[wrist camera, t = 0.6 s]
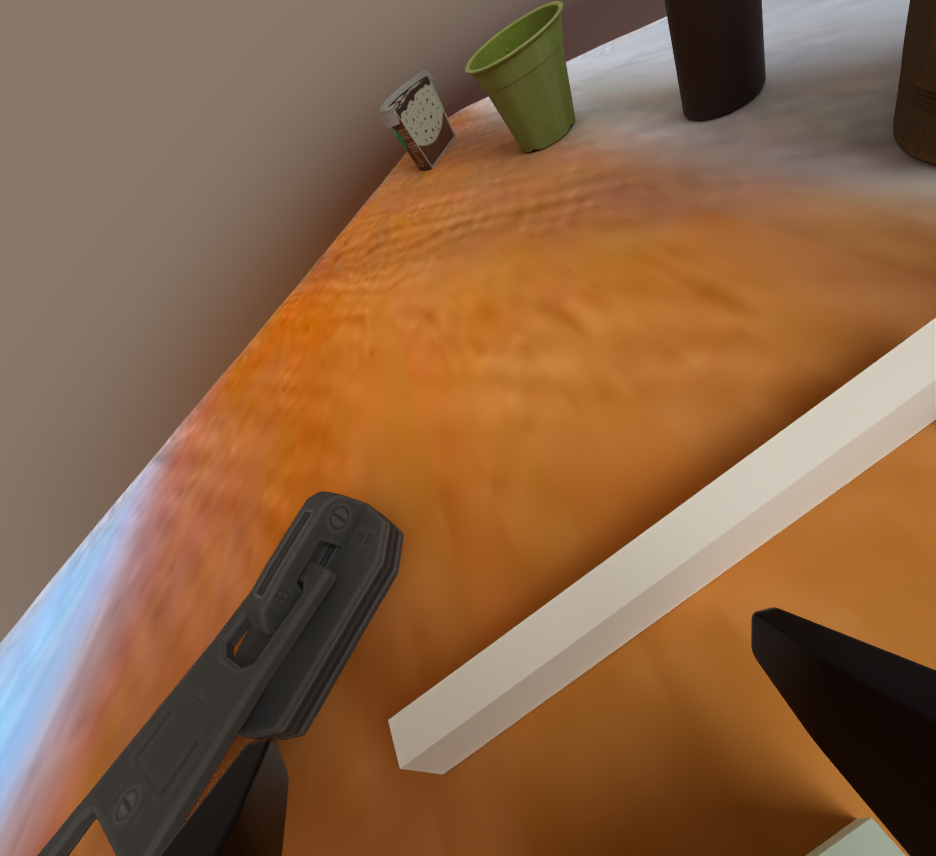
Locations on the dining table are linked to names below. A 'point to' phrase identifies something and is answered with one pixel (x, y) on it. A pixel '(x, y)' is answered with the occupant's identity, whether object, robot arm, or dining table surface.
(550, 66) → the plant pot
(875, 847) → the cabinet block
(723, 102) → the bottle
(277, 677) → the dark grey elongated piece
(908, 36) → the wooden container
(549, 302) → the dining table surface
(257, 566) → the dining table surface
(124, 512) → the dining table surface
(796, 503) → the cleat board
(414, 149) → the food container
